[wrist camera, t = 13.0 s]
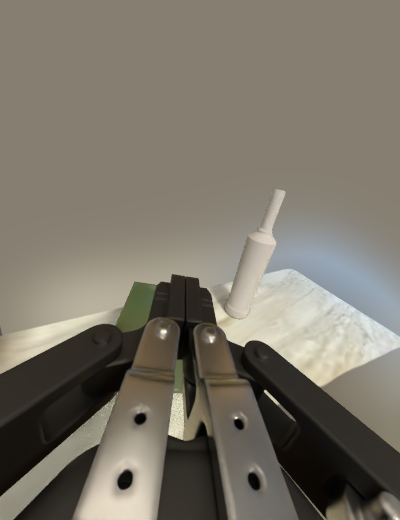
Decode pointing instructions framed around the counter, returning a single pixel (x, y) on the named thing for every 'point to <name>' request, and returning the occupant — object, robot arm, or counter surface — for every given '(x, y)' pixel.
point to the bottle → (254, 261)
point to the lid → (136, 307)
